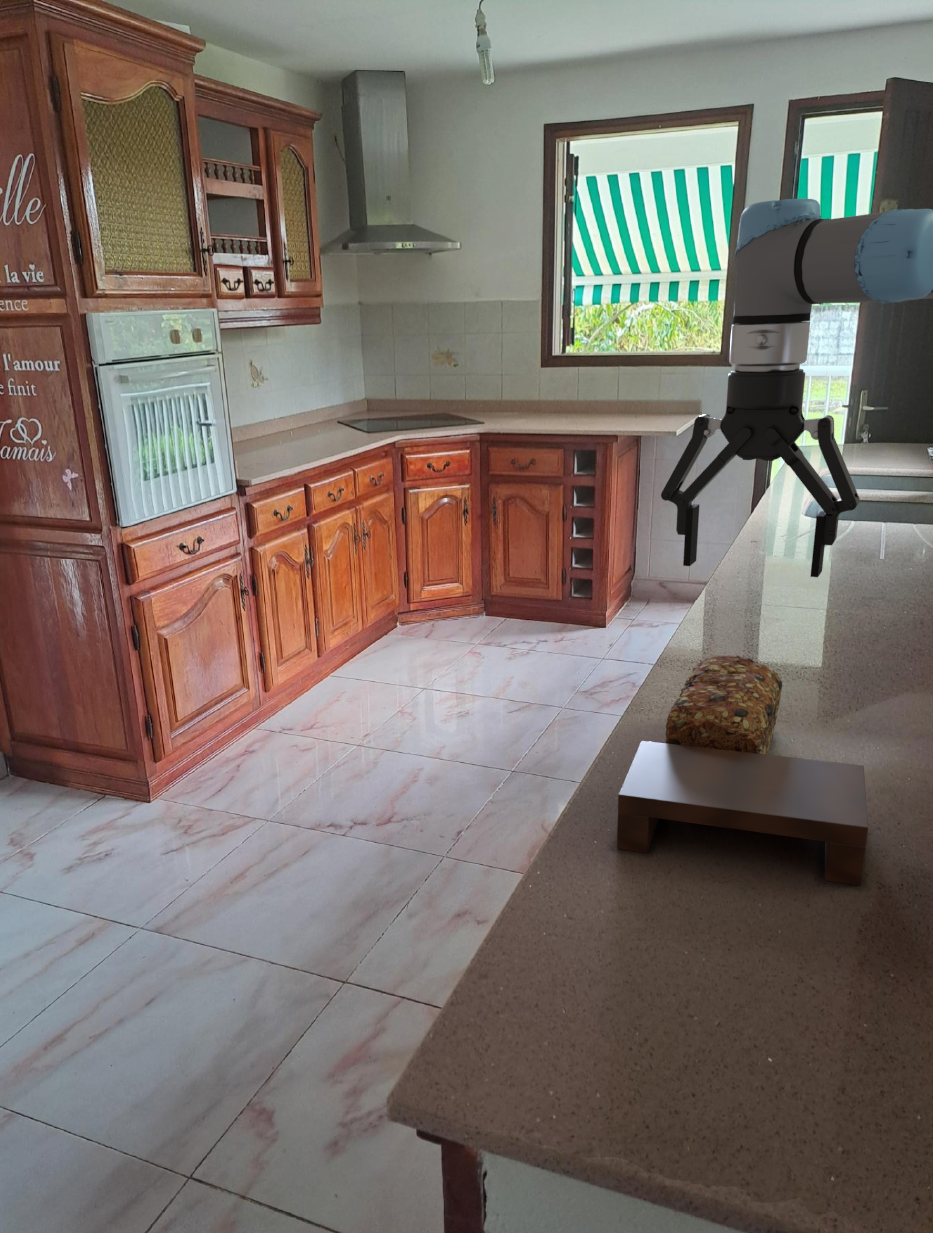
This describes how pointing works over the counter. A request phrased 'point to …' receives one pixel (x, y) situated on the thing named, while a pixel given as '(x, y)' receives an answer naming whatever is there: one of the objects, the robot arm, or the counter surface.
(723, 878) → the counter surface
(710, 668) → the bread
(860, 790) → the shelf
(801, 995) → the counter surface
